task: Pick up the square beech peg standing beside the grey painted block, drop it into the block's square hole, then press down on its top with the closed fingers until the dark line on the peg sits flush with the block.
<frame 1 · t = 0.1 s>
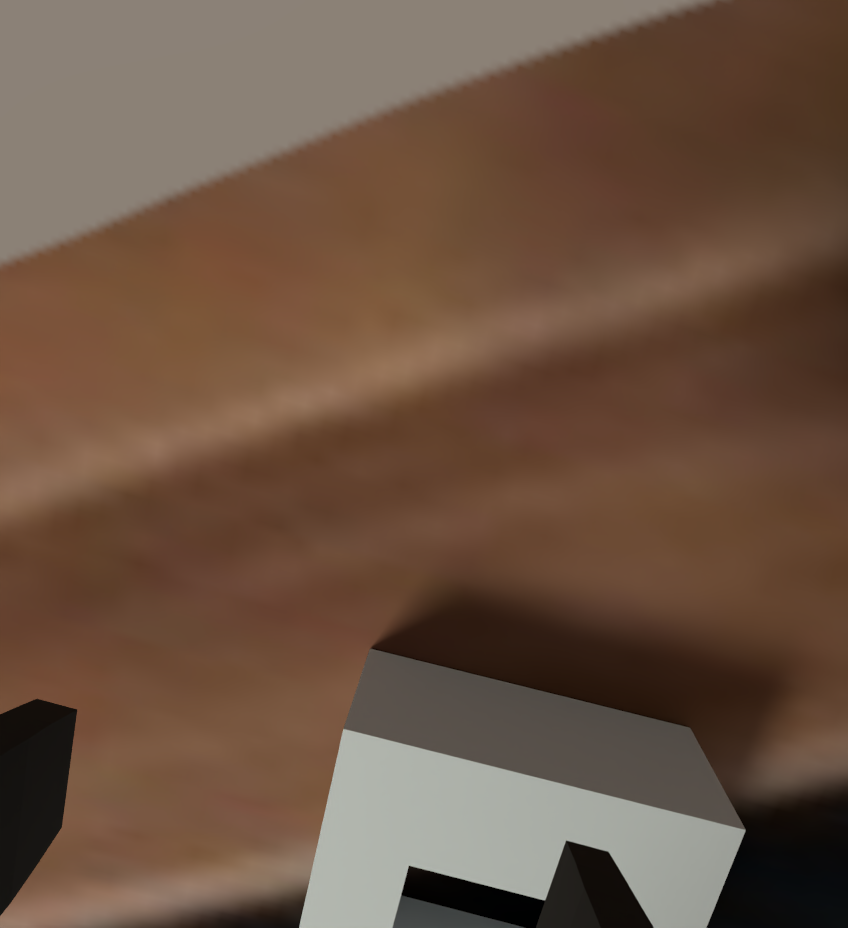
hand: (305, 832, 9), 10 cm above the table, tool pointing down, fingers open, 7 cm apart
socket block: (481, 848, 20), on the table
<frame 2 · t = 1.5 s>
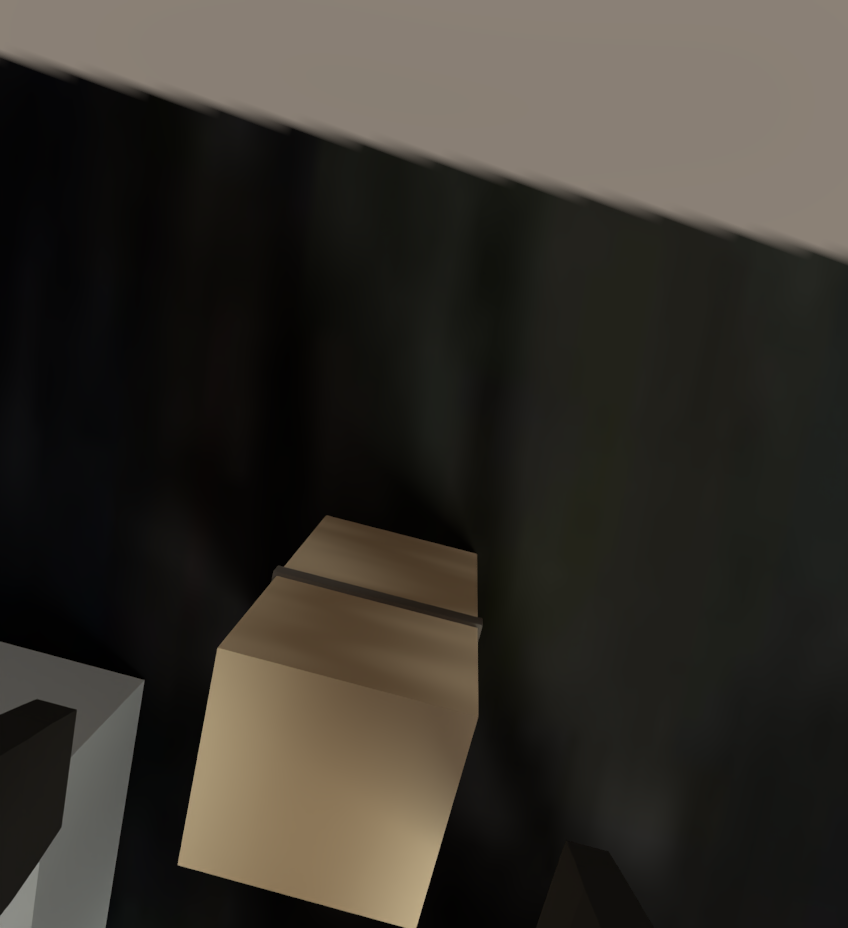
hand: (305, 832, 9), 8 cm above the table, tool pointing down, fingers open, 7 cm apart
peg: (384, 604, 17), on the table
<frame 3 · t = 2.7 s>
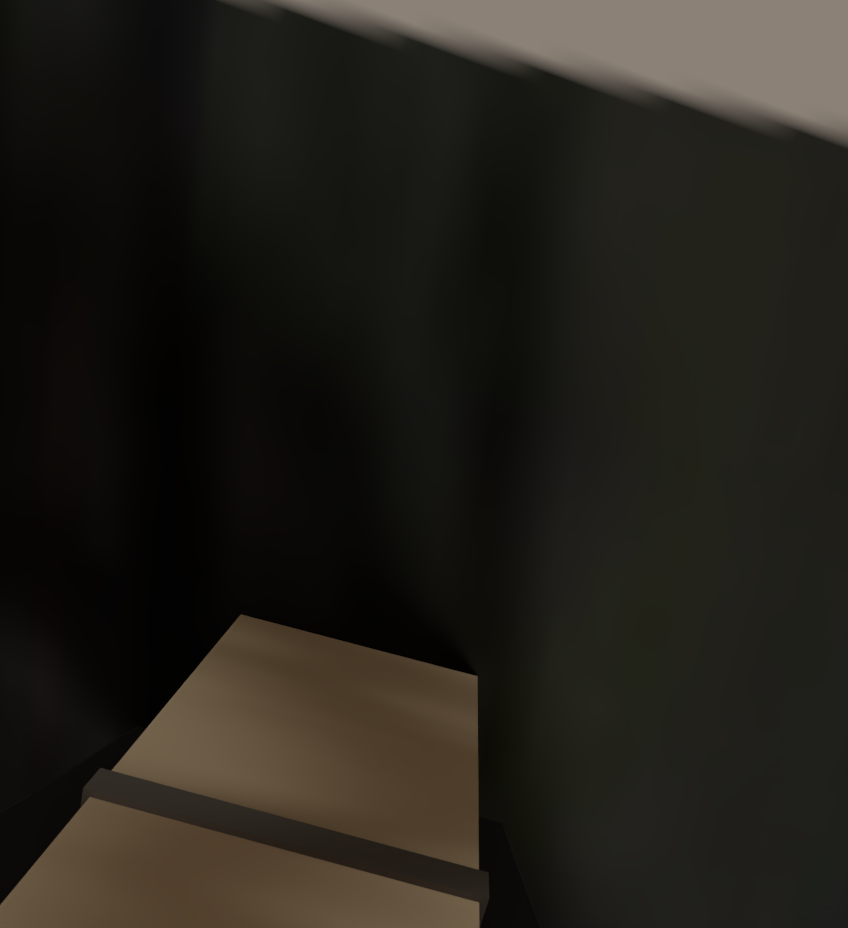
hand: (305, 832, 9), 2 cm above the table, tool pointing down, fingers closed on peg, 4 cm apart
peg: (333, 748, 11), on the table, touching gripper
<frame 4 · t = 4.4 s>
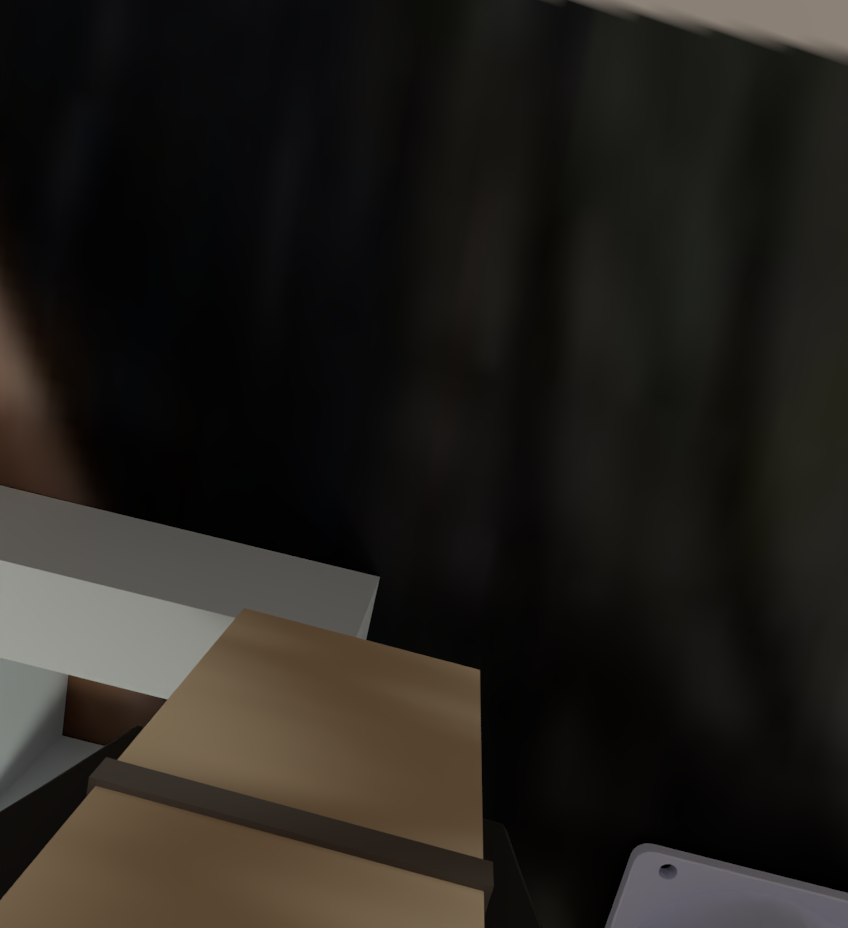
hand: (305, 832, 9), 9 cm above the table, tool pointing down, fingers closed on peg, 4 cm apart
socket block: (152, 682, 19), on the table
peg: (336, 742, 11), point 7 cm above the table, touching gripper
when the fingers open (5 cm above the table, at t = 6.3 s): peg drops 3 cm, resting in socket block.
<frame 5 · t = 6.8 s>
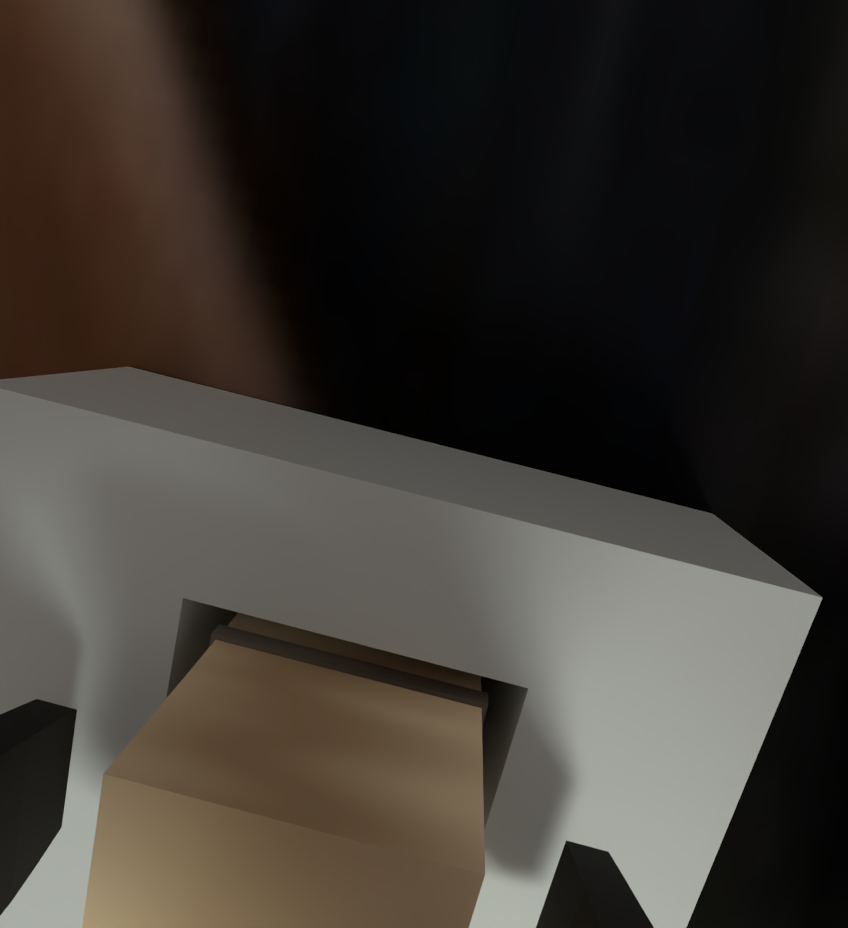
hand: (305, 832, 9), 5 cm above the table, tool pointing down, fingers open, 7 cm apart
socket block: (363, 659, 14), on the table
peg: (366, 652, 14), resting in socket block
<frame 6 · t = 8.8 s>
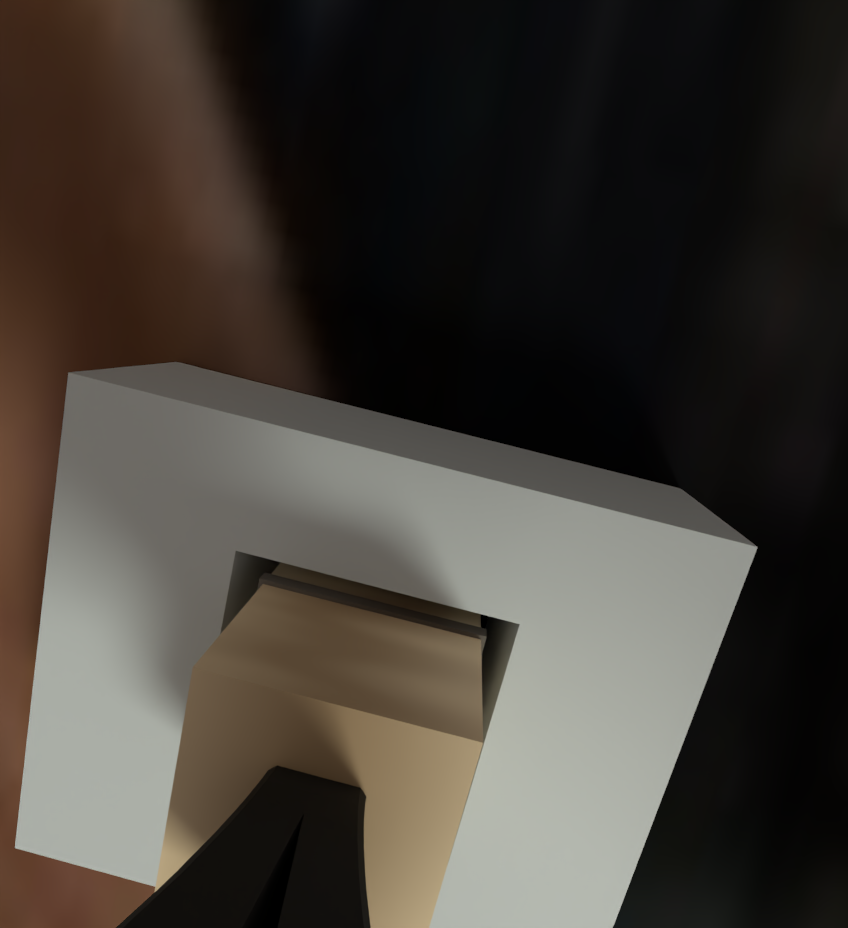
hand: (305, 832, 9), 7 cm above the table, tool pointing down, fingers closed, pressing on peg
socket block: (378, 618, 16), on the table
peg: (381, 611, 16), resting in socket block, touching gripper
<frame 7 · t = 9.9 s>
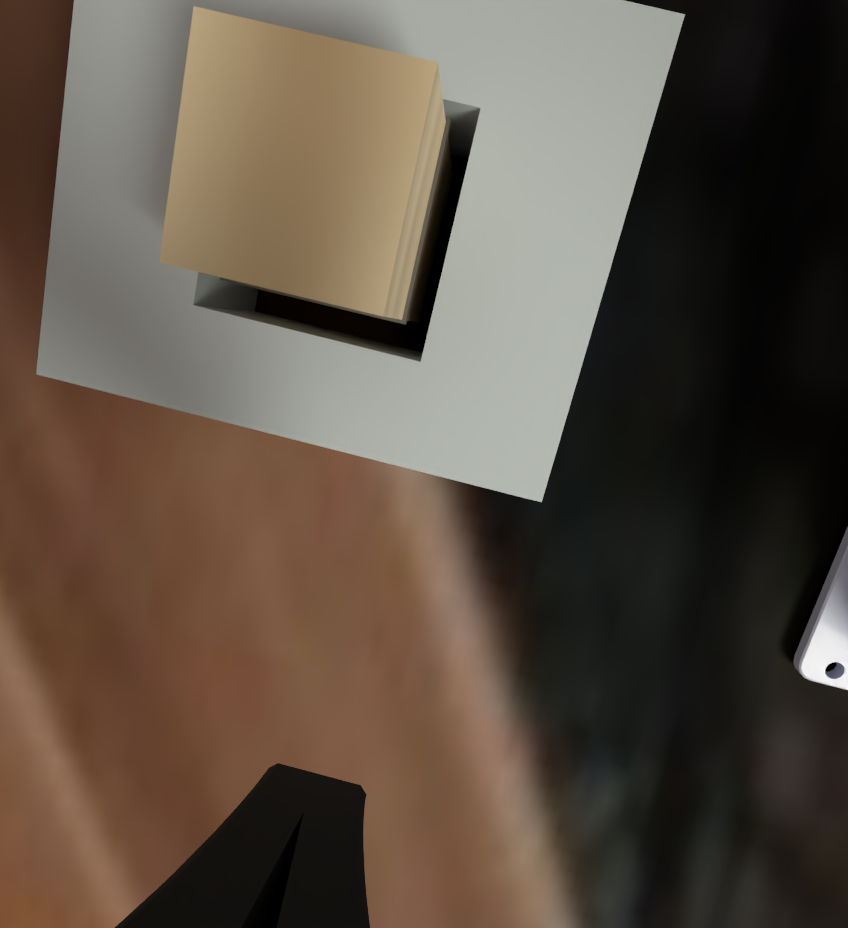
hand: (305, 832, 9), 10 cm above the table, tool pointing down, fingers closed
socket block: (362, 238, 17), on the table
peg: (364, 232, 17), resting in socket block
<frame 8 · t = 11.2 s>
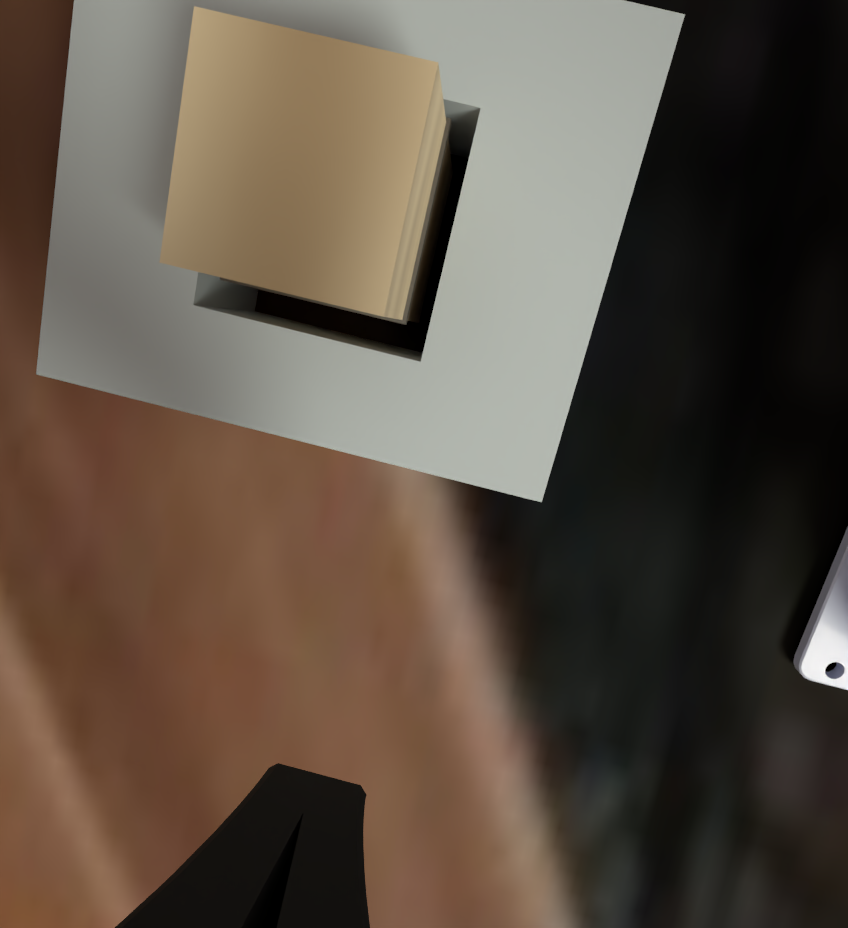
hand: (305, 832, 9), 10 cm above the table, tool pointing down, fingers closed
socket block: (362, 238, 17), on the table
peg: (364, 232, 17), resting in socket block
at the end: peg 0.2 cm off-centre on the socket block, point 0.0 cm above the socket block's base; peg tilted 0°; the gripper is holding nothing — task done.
